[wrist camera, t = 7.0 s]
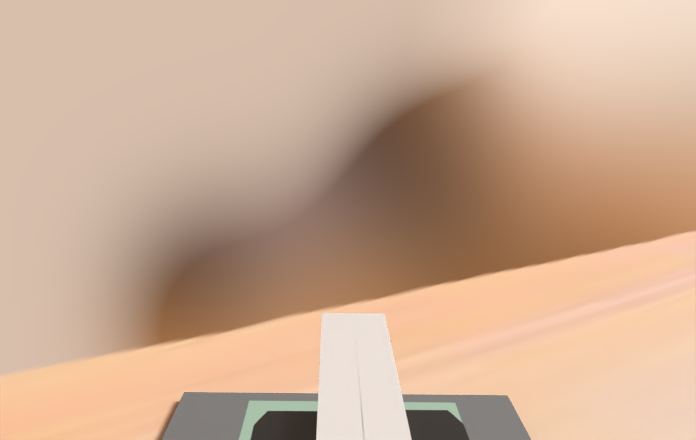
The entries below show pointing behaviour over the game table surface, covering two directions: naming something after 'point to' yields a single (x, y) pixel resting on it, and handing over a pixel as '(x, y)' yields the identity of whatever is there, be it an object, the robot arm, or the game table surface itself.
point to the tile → (261, 407)
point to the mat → (230, 408)
